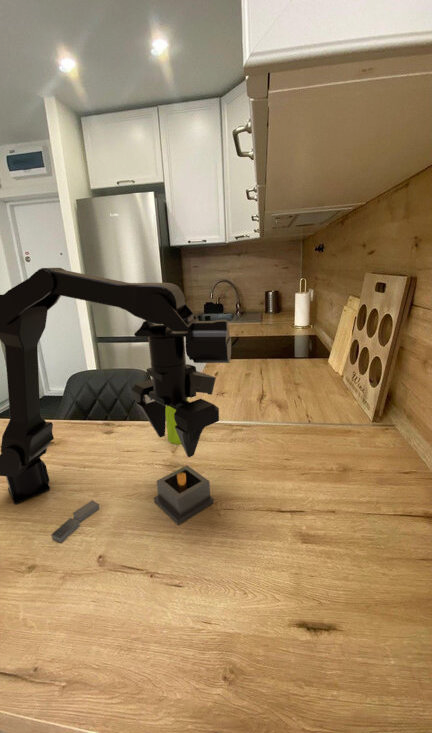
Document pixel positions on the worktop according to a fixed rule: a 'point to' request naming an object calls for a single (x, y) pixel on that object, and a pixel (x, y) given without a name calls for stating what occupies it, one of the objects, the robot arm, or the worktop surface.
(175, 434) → the soap dispenser
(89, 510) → the grey topped wooden tile
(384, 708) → the worktop surface
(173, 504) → the hollow square frame
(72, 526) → the wood sided gray block
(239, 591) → the worktop surface
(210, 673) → the worktop surface
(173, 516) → the keeper
